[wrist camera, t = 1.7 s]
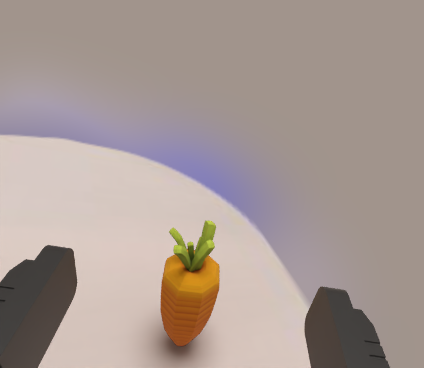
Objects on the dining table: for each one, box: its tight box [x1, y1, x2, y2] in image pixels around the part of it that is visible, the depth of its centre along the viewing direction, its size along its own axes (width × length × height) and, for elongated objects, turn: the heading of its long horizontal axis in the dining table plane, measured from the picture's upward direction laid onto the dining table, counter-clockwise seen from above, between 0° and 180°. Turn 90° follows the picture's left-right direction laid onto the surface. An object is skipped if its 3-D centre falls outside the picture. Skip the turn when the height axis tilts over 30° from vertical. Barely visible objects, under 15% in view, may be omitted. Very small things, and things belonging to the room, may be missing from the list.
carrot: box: [161, 221, 219, 346], centre depth 28 cm, size 5×5×15 cm
